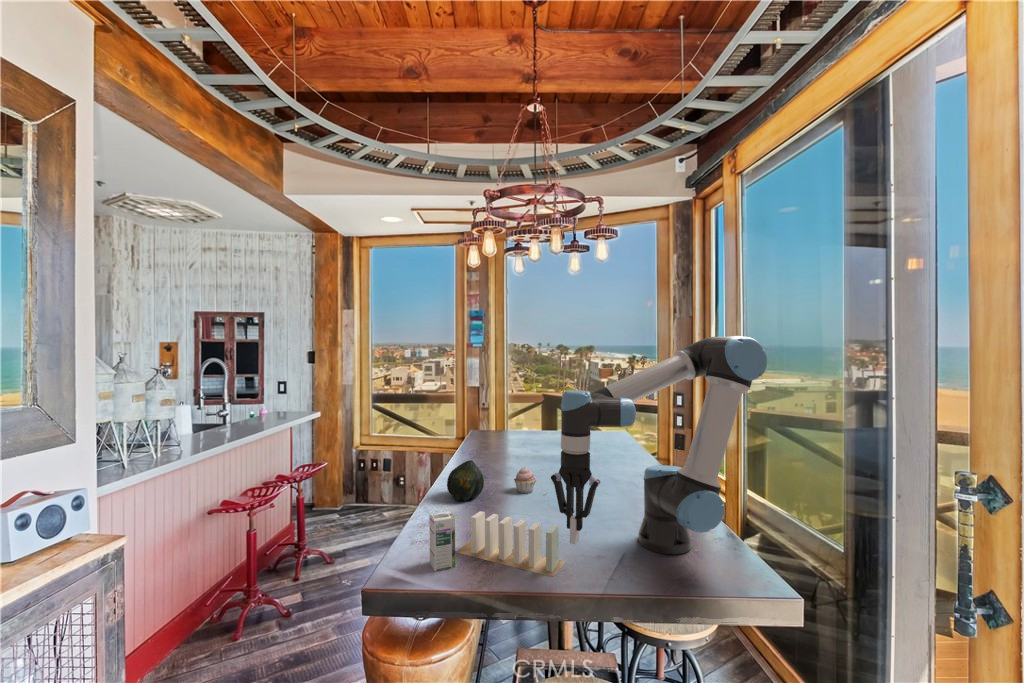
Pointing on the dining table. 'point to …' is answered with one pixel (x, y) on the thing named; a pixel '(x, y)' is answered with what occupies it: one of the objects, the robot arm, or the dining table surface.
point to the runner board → (511, 560)
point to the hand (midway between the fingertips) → (574, 541)
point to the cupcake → (525, 481)
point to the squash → (465, 481)
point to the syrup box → (442, 540)
